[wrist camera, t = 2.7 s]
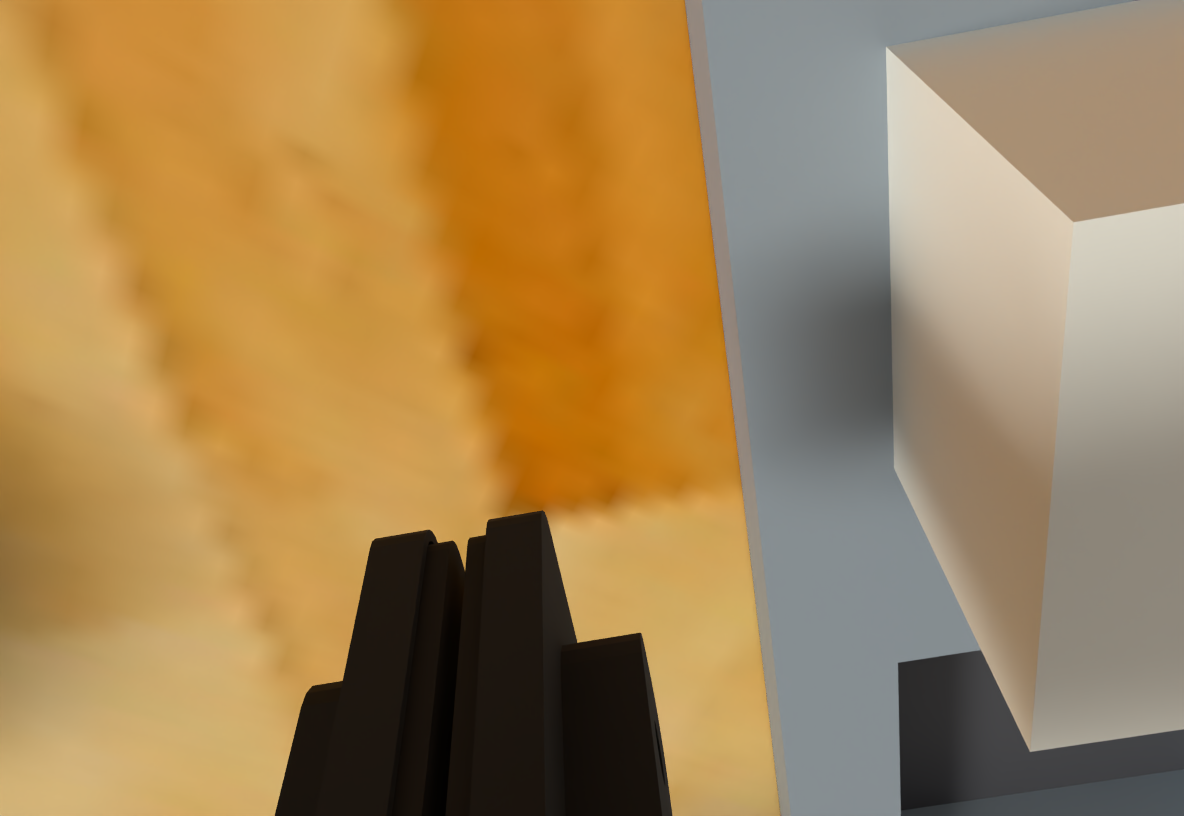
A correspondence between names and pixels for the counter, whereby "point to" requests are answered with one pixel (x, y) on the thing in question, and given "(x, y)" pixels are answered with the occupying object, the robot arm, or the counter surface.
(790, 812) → the board
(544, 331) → the counter surface
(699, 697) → the counter surface
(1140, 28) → the cream block
